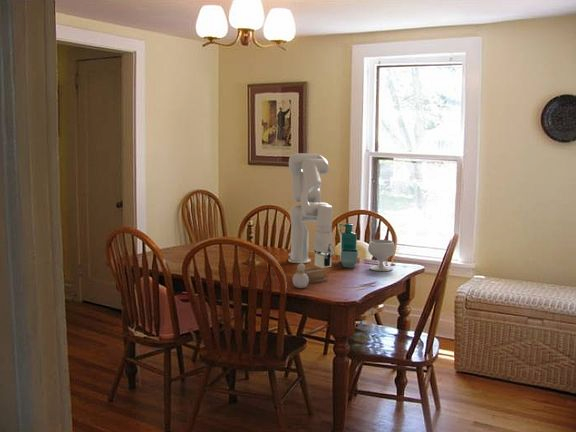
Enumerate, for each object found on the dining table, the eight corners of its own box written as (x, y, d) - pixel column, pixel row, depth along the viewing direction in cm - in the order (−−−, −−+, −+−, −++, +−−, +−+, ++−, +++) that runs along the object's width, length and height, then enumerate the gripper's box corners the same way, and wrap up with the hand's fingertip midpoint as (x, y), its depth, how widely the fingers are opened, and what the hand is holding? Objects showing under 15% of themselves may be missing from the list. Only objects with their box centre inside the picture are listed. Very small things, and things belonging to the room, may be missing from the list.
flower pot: (356, 268, 326) (357, 252, 325) (340, 268, 327) (340, 251, 326) (358, 265, 334) (358, 249, 333) (341, 264, 336) (342, 248, 335)
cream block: (314, 265, 312) (314, 253, 311) (323, 264, 315) (324, 252, 314) (321, 267, 307) (322, 256, 306) (331, 266, 310) (331, 254, 309)
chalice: (386, 266, 334) (387, 238, 332) (399, 271, 321) (400, 242, 319) (363, 267, 330) (363, 239, 328) (374, 272, 316) (375, 243, 315)
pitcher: (355, 261, 347) (356, 222, 345) (356, 264, 339) (357, 224, 336) (337, 260, 347) (338, 222, 345) (338, 263, 339) (339, 224, 336)
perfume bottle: (304, 285, 286) (304, 259, 285) (313, 289, 278) (314, 263, 276) (289, 286, 283) (289, 260, 282) (298, 291, 275) (299, 264, 273)
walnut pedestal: (292, 279, 298) (292, 269, 298) (311, 276, 305) (312, 266, 305) (307, 284, 289) (307, 273, 288) (327, 281, 295) (327, 270, 295)
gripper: (307, 227, 313) (306, 261, 316) (329, 232, 299) (327, 268, 302) (319, 226, 317) (318, 260, 320) (341, 231, 303) (339, 267, 306)
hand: (322, 264), depth 311 cm, fingers closed on cream block, 6 cm apart
